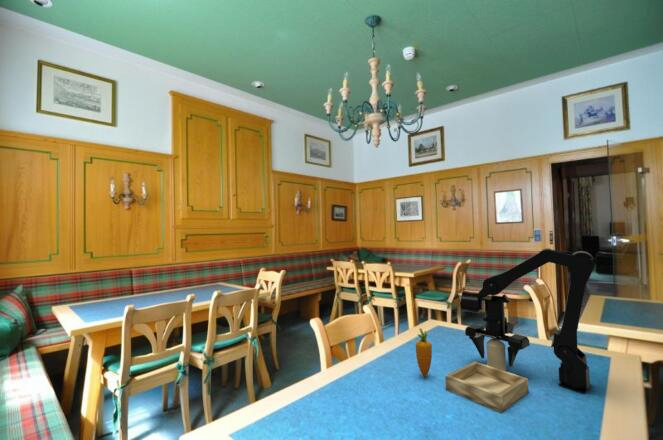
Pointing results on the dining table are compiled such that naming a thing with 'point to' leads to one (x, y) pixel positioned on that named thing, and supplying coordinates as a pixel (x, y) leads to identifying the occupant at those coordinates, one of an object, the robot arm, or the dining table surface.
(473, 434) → the dining table surface
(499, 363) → the candle
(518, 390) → the box
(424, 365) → the carrot
